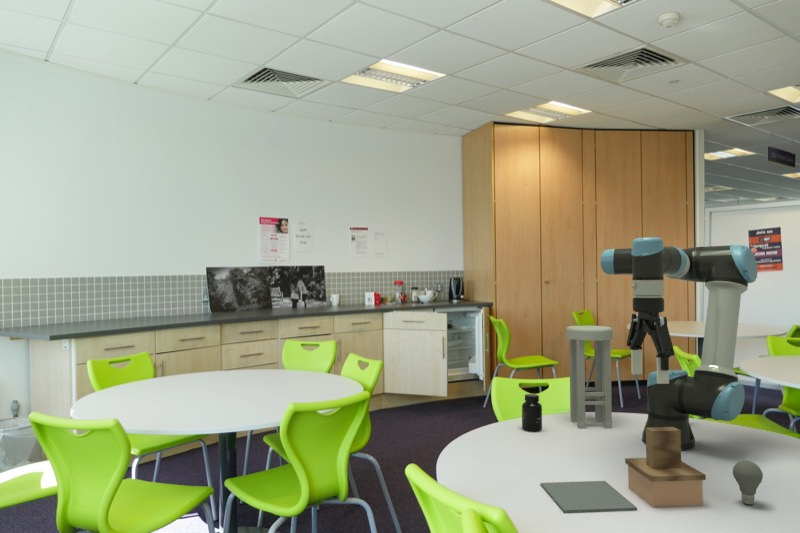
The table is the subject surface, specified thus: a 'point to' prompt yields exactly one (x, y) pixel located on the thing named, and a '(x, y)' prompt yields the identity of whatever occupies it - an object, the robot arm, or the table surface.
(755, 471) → the light bulb
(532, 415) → the supplement bottle
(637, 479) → the open tan tray
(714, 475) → the table surface
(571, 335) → the stool
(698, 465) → the table surface
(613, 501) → the mat
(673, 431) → the lid
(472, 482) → the table surface
